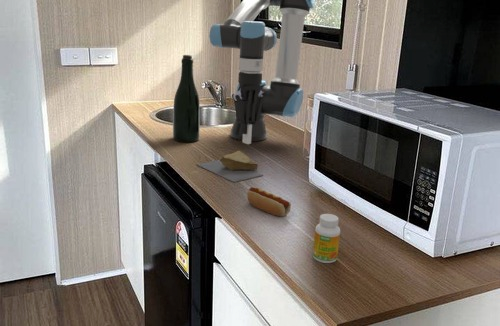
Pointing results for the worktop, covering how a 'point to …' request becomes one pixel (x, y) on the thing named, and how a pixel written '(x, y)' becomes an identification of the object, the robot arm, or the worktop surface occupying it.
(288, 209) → the food
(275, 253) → the worktop surface
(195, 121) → the dark green wine bottle
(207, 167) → the mat
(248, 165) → the yellow wedge
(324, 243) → the supplement bottle
